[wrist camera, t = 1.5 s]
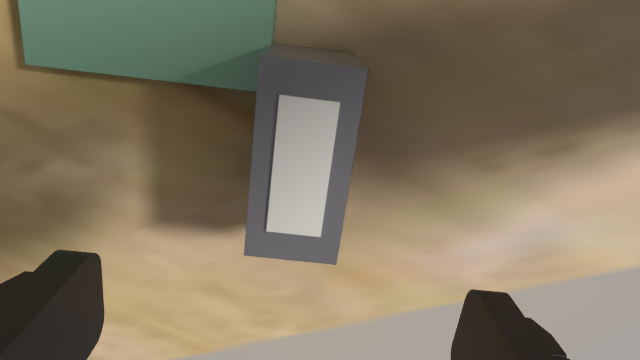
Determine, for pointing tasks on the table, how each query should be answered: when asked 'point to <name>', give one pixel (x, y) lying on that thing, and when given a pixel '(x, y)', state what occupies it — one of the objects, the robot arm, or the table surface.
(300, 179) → the block
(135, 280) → the table surface
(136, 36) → the board
